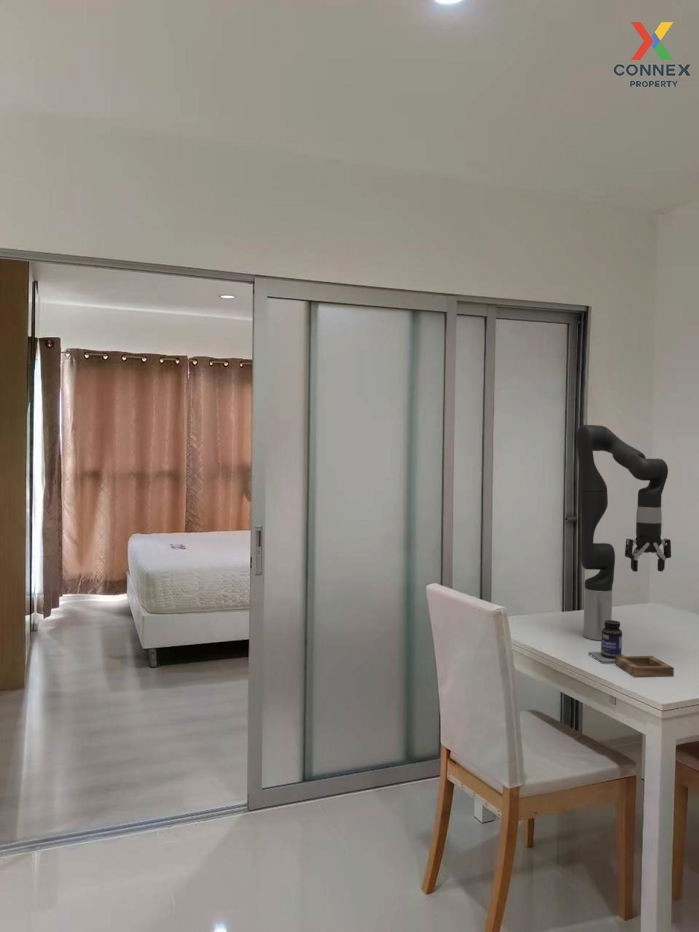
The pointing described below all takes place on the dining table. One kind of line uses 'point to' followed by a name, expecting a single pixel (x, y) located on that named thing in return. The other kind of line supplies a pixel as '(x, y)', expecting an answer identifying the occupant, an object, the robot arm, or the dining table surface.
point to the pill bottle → (611, 639)
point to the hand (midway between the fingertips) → (647, 571)
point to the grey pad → (602, 657)
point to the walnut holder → (644, 666)
